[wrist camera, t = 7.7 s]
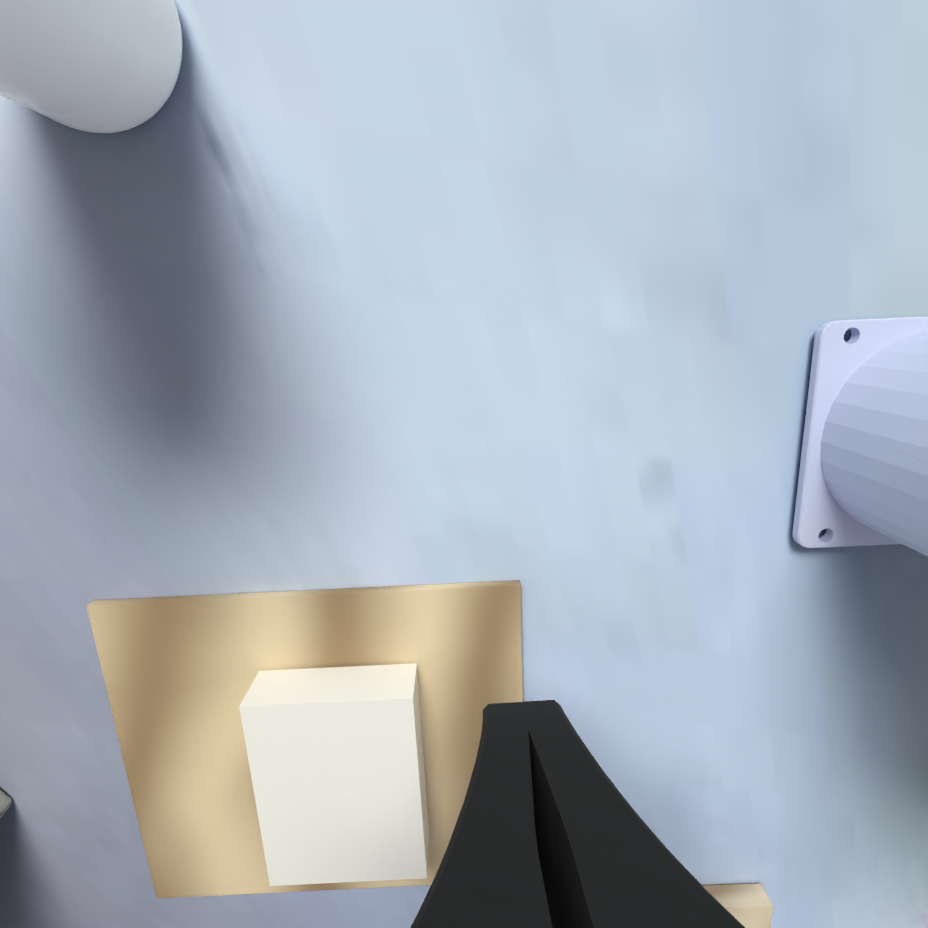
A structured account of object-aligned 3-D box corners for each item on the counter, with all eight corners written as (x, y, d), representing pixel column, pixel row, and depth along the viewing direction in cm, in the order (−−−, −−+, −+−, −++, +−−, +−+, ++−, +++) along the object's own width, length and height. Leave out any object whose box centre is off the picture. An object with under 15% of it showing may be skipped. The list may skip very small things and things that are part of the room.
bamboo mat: (519, 580, 21) (520, 585, 20) (525, 871, 24) (526, 880, 24) (93, 600, 21) (86, 605, 20) (161, 889, 24) (156, 898, 24)
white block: (413, 698, 19) (239, 706, 19) (427, 878, 21) (270, 885, 21) (416, 661, 21) (259, 669, 21) (429, 829, 23) (286, 836, 23)
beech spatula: (763, 860, 24) (776, 883, 23) (755, 928, 25) (767, 953, 24) (468, 870, 24) (468, 893, 23) (472, 938, 25) (472, 962, 24)
